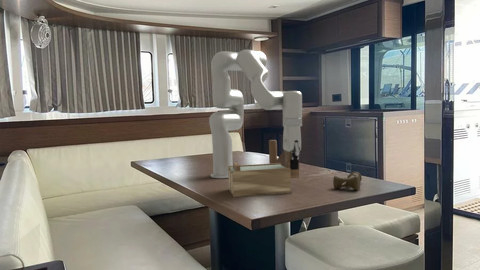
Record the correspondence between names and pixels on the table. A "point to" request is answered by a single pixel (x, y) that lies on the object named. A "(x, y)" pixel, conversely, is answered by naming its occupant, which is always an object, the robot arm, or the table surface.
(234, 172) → the wooden box
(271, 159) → the wooden block
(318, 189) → the table surface
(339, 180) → the kendama
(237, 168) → the lid
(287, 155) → the wooden square column
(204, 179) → the table surface
